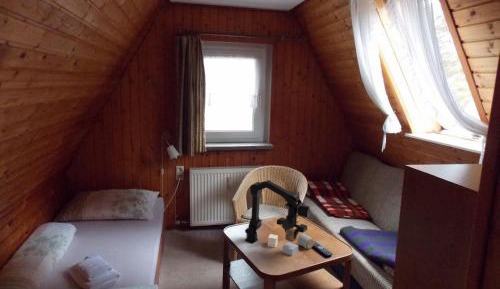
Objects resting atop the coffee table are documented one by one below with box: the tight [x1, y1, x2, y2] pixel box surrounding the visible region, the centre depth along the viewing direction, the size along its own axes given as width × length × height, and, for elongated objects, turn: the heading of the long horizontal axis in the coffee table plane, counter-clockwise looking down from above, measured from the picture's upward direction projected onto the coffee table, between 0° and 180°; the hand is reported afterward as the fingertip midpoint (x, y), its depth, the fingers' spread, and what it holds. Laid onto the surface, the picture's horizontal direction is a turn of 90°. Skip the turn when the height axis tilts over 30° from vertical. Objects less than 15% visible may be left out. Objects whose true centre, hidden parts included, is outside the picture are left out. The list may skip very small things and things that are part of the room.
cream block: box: [267, 233, 279, 248], centre depth 214 cm, size 5×5×6 cm
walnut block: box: [284, 228, 297, 243], centre depth 204 cm, size 5×5×6 cm
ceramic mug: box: [297, 232, 315, 250], centre depth 214 cm, size 11×8×8 cm
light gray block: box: [282, 241, 299, 256], centre depth 206 cm, size 7×7×4 cm
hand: (290, 237), depth 205 cm, fingers closed on walnut block, 5 cm apart
